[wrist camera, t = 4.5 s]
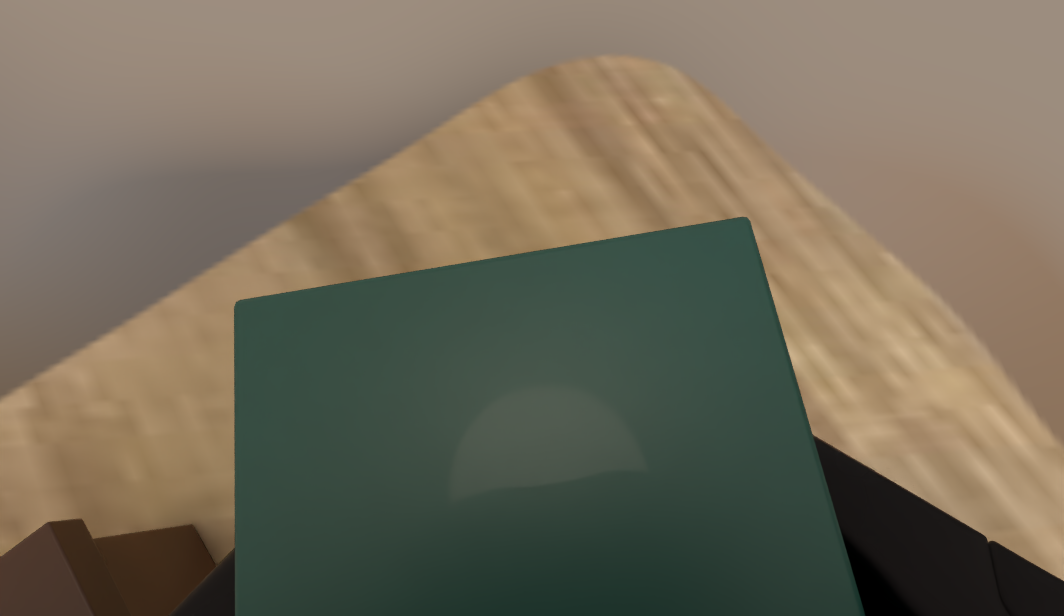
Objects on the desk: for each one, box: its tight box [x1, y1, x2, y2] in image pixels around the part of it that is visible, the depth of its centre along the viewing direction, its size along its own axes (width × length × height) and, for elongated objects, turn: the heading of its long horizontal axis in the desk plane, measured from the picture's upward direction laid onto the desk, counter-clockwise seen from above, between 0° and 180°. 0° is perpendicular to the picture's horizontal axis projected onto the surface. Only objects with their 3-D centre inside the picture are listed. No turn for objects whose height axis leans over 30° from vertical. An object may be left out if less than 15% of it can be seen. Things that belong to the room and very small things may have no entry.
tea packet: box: [234, 217, 865, 616], centre depth 9 cm, size 5×6×10 cm
